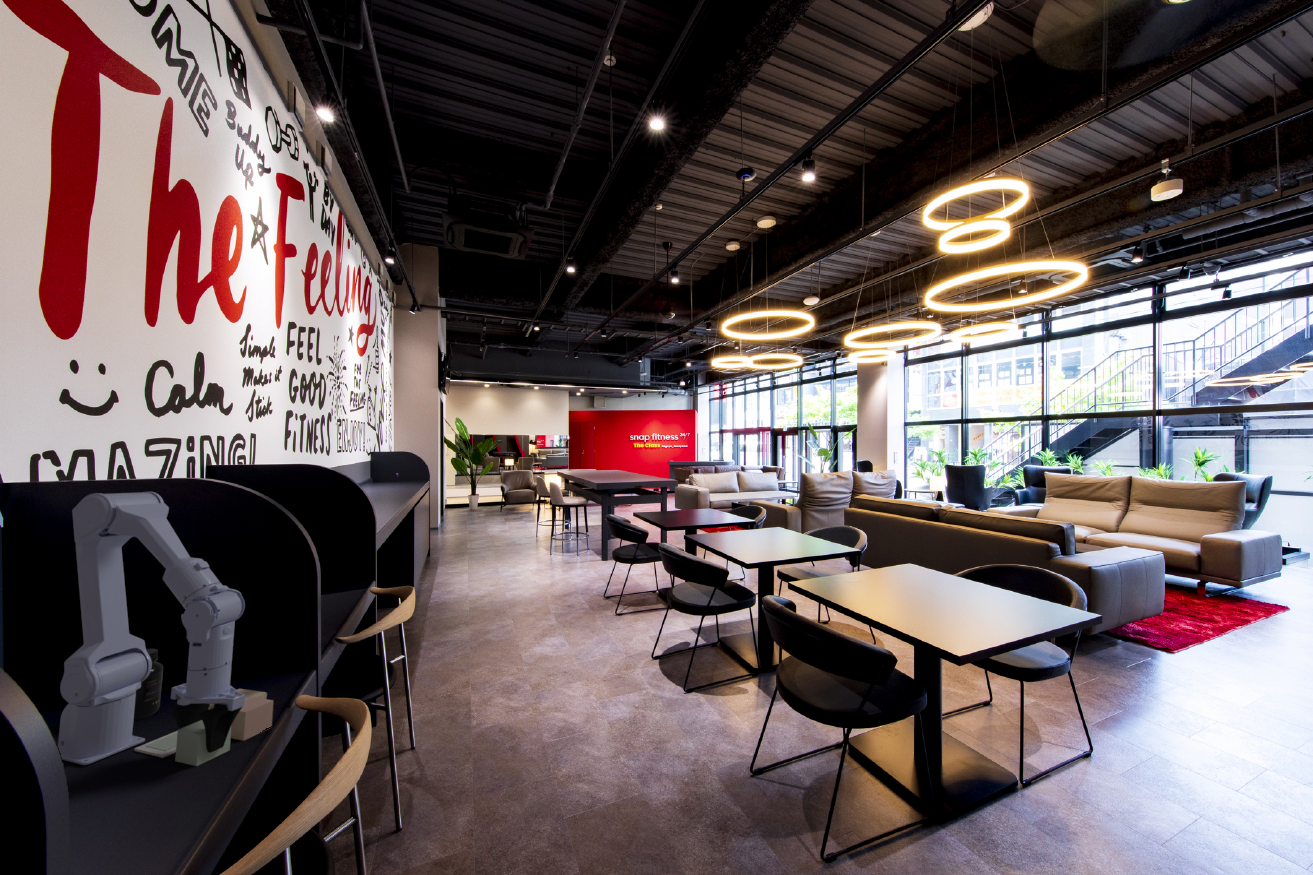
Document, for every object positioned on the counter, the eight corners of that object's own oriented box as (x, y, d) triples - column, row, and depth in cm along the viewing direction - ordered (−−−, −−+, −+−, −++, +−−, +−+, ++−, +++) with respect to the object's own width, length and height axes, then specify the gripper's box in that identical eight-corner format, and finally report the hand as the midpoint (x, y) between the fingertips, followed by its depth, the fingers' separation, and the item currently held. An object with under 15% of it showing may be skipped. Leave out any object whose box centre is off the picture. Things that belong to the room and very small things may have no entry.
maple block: (200, 725, 96) (201, 703, 96) (238, 708, 103) (239, 688, 103) (228, 730, 94) (230, 708, 94) (265, 713, 101) (266, 692, 101)
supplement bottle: (98, 725, 95) (105, 659, 96) (128, 708, 101) (134, 647, 102) (142, 722, 96) (147, 657, 97) (168, 705, 103) (173, 645, 104)
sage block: (175, 760, 84) (177, 729, 84) (208, 745, 88) (211, 715, 89) (196, 766, 82) (199, 734, 83) (229, 750, 87) (232, 720, 87)
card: (134, 750, 86) (134, 747, 86) (182, 730, 93) (182, 728, 93) (162, 757, 84) (162, 754, 85) (209, 736, 91) (209, 733, 91)
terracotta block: (223, 736, 92) (225, 708, 92) (251, 723, 96) (253, 696, 97) (243, 740, 90) (245, 712, 91) (271, 727, 95) (273, 700, 95)
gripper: (152, 667, 85) (145, 751, 84) (214, 678, 81) (207, 767, 80) (200, 653, 91) (193, 731, 90) (259, 663, 87) (254, 744, 86)
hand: (203, 746), depth 85 cm, fingers closed on sage block, 5 cm apart
